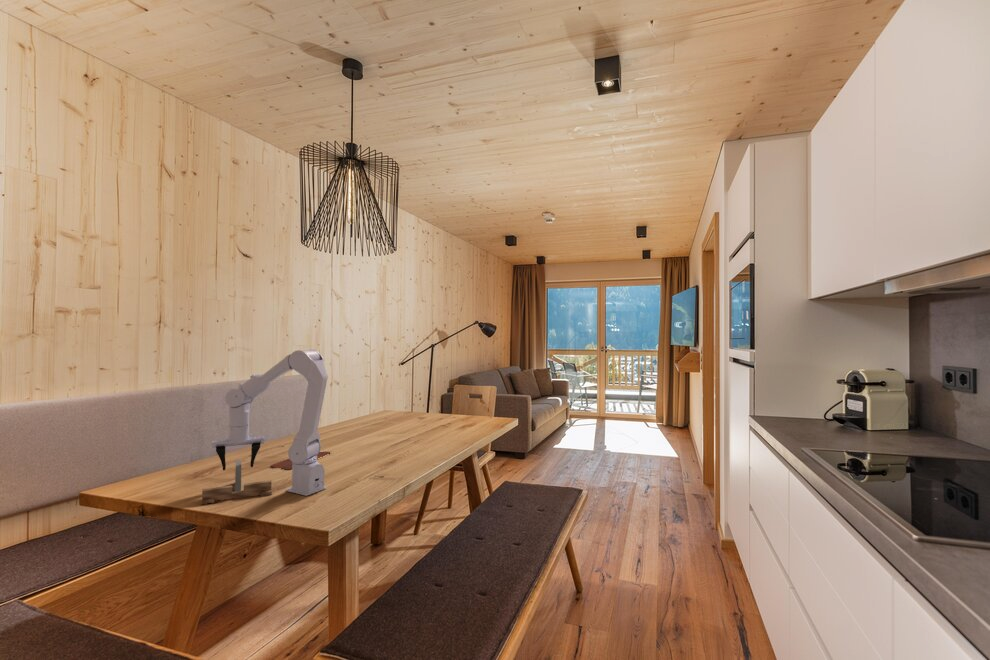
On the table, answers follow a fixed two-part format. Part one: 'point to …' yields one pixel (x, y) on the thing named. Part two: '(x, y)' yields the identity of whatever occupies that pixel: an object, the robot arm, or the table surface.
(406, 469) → the table surface
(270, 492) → the walnut slotted stand
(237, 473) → the grey long rectangular block
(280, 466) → the wooden tablet
